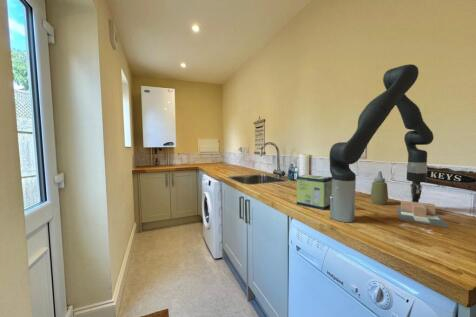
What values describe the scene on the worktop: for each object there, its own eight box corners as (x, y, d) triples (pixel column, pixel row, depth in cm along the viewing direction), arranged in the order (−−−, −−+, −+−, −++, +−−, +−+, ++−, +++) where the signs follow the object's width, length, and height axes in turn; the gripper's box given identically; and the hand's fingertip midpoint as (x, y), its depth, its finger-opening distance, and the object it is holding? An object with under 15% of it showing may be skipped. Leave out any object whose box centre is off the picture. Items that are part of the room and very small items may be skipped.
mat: (400, 221, 88) (400, 219, 88) (396, 207, 106) (396, 206, 106) (449, 228, 79) (449, 227, 79) (436, 212, 98) (436, 211, 98)
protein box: (305, 200, 121) (305, 174, 121) (332, 206, 110) (332, 177, 110) (295, 204, 114) (296, 176, 113) (324, 210, 103) (324, 179, 102)
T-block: (402, 214, 95) (402, 205, 95) (400, 208, 104) (400, 200, 104) (438, 219, 88) (439, 209, 88) (433, 212, 97) (433, 204, 97)
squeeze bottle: (373, 205, 110) (374, 172, 109) (367, 201, 118) (368, 170, 117) (390, 206, 108) (392, 172, 107) (384, 202, 116) (385, 170, 115)
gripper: (405, 169, 109) (404, 202, 110) (408, 172, 98) (406, 208, 99) (424, 170, 105) (422, 204, 106) (429, 173, 94) (427, 211, 95)
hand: (415, 206), depth 102 cm, fingers closed
